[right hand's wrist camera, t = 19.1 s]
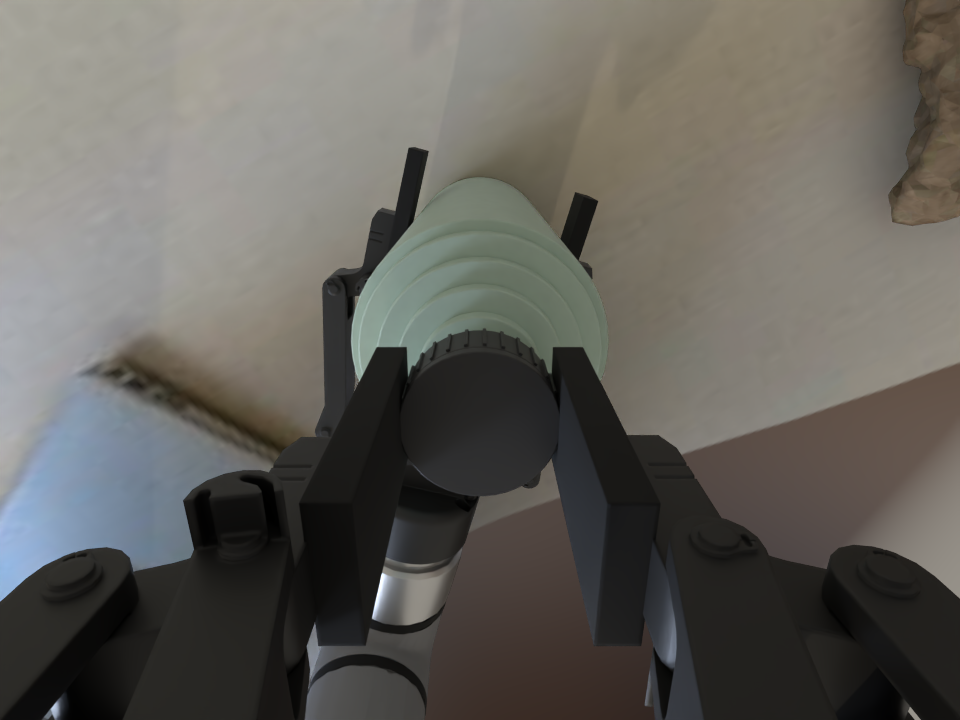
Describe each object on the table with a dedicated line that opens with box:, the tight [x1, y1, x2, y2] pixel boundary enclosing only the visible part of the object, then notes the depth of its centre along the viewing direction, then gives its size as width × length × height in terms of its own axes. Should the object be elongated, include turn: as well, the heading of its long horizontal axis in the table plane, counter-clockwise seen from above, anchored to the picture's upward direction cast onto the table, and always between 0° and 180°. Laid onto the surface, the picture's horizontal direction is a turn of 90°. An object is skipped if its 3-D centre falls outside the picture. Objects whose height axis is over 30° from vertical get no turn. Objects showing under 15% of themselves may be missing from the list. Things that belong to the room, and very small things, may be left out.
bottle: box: [351, 177, 609, 381], centre depth 25 cm, size 8×8×24 cm
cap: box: [400, 328, 560, 496], centre depth 14 cm, size 4×4×2 cm
